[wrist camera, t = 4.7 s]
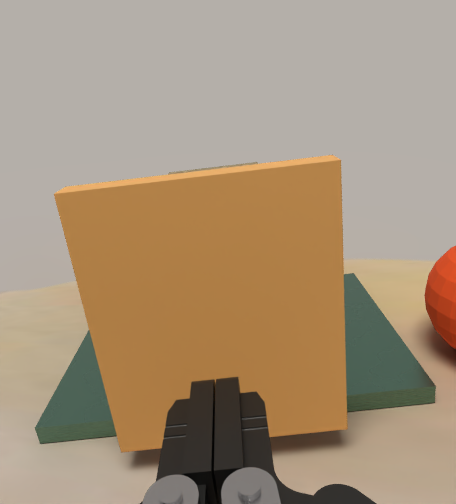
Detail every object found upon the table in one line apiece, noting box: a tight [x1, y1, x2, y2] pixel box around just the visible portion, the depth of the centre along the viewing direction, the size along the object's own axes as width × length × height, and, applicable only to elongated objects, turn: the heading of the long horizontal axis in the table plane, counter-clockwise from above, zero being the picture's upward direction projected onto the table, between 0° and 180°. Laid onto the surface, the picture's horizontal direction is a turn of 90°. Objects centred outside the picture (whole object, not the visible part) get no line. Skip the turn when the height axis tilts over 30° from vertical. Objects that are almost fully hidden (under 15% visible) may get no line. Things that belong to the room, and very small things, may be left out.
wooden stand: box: [54, 155, 347, 452], centre depth 22 cm, size 10×10×12 cm
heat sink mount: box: [35, 162, 436, 444], centre depth 27 cm, size 20×14×11 cm
